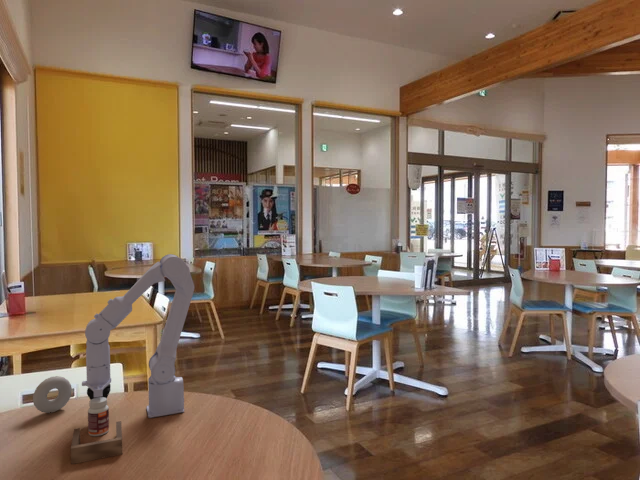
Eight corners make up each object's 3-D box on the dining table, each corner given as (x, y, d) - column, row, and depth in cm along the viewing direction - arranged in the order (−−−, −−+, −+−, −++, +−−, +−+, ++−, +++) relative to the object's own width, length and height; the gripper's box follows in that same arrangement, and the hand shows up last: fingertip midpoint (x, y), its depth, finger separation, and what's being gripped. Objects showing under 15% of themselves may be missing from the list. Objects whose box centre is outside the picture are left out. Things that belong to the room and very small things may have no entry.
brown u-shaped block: (121, 434, 114) (121, 421, 114) (122, 454, 105) (122, 439, 105) (74, 443, 110) (74, 428, 110) (71, 464, 100) (70, 448, 100)
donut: (36, 419, 123) (35, 383, 122) (31, 416, 125) (30, 380, 124) (74, 407, 131) (73, 373, 130) (69, 404, 133) (68, 370, 132)
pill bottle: (100, 437, 113) (100, 404, 112) (84, 435, 114) (83, 402, 113) (113, 428, 117) (112, 397, 117) (97, 427, 118) (96, 395, 118)
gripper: (83, 358, 126) (84, 406, 127) (79, 374, 113) (80, 428, 113) (111, 355, 129) (112, 402, 130) (110, 370, 116) (112, 423, 116)
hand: (99, 414), depth 122 cm, fingers closed
